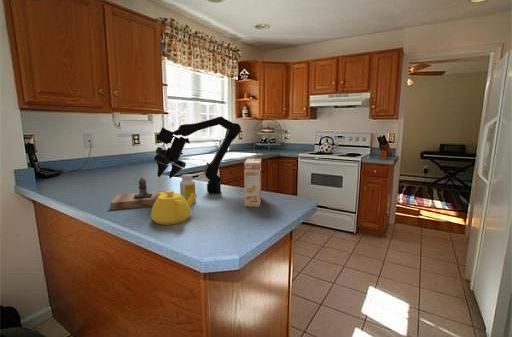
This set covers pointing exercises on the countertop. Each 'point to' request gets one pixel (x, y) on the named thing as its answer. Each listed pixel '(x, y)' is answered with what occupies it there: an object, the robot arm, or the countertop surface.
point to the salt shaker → (142, 189)
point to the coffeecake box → (252, 182)
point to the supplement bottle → (187, 186)
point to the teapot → (171, 208)
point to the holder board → (133, 200)
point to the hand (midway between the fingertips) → (164, 177)
